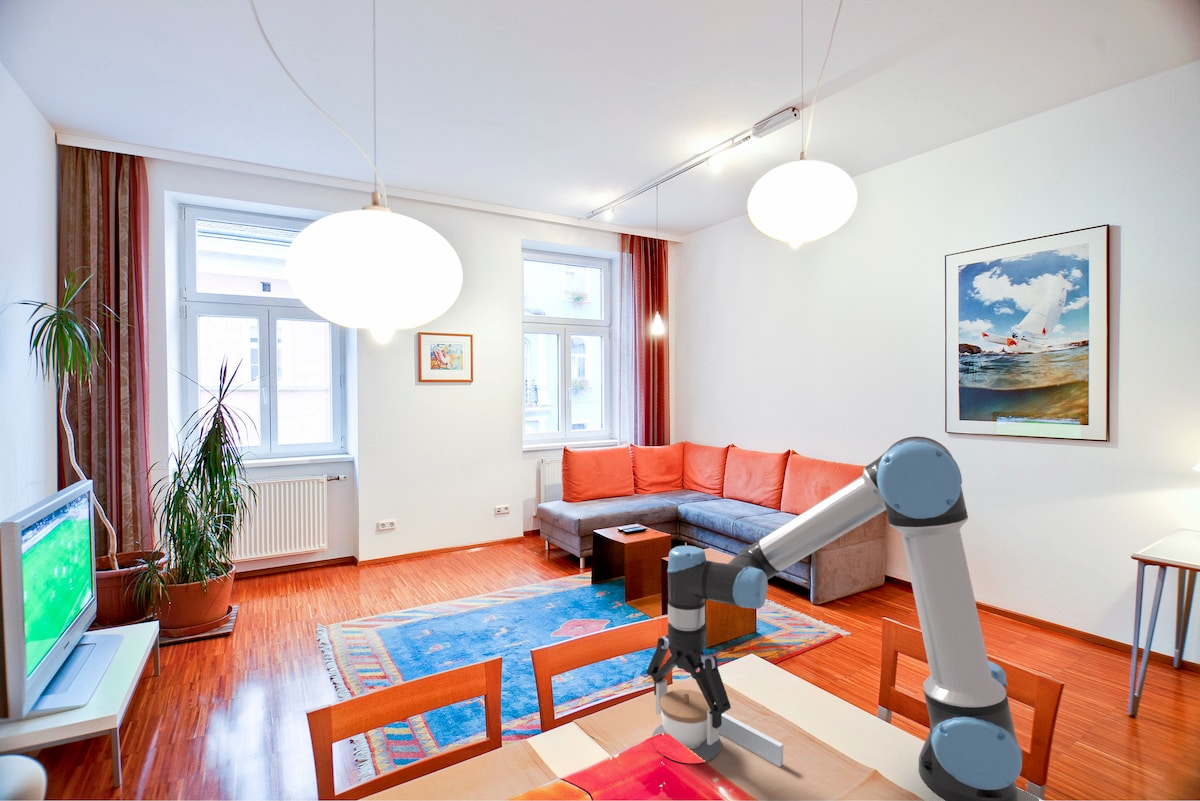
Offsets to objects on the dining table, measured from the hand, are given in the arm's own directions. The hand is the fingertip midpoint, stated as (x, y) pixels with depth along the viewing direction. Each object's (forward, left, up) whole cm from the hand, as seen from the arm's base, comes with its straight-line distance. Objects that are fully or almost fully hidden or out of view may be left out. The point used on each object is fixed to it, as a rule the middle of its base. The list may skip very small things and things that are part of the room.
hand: (686, 726), depth 117 cm
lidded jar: (0, 0, -3) cm, 3 cm away
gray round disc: (0, 0, -3) cm, 3 cm away
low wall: (-6, -8, -3) cm, 10 cm away
